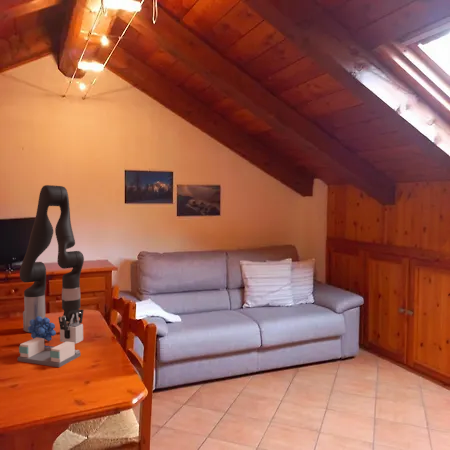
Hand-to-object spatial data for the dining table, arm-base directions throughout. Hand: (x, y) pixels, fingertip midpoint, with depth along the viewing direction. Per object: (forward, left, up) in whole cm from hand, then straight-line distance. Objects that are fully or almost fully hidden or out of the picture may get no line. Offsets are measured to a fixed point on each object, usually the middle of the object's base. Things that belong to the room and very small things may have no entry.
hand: (71, 336), depth 190 cm
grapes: (-17, +1, -5) cm, 18 cm away
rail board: (-1, -13, -5) cm, 14 cm away
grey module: (0, 0, -2) cm, 2 cm away
